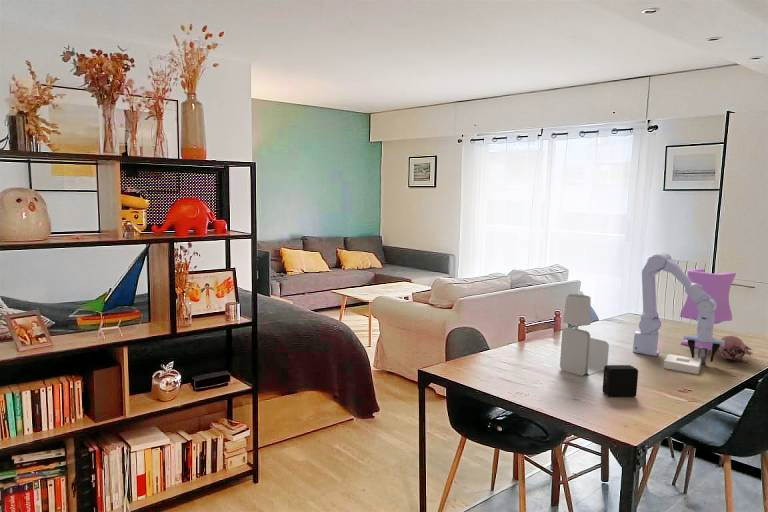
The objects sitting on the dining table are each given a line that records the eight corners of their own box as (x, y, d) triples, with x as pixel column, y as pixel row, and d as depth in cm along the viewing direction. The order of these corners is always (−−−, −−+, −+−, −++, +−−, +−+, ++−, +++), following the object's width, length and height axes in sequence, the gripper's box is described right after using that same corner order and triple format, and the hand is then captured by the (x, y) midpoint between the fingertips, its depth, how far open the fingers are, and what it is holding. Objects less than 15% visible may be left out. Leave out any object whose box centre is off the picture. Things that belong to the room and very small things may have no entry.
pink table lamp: (729, 347, 251) (736, 272, 247) (712, 352, 242) (720, 274, 238) (694, 339, 264) (700, 268, 260) (677, 343, 255) (684, 270, 251)
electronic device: (602, 393, 188) (604, 365, 187) (629, 392, 189) (631, 365, 187) (608, 397, 184) (610, 369, 182) (636, 397, 184) (638, 368, 183)
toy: (760, 365, 219) (750, 353, 233) (753, 340, 219) (744, 330, 233) (727, 370, 224) (719, 358, 238) (720, 345, 224) (713, 335, 237)
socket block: (663, 367, 218) (664, 360, 217) (667, 360, 227) (668, 353, 227) (698, 374, 211) (698, 366, 210) (700, 366, 221) (701, 359, 220)
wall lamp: (607, 368, 216) (612, 293, 212) (579, 379, 202) (584, 299, 198) (582, 361, 223) (587, 289, 220) (554, 371, 210) (559, 295, 206)
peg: (697, 364, 224) (698, 347, 223) (697, 362, 226) (699, 346, 225) (705, 365, 222) (707, 349, 221) (706, 364, 224) (707, 347, 223)
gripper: (683, 326, 223) (681, 358, 224) (725, 332, 215) (722, 365, 216) (685, 323, 229) (683, 354, 230) (726, 329, 221) (723, 361, 222)
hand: (702, 359), depth 224 cm, fingers open, 6 cm apart
